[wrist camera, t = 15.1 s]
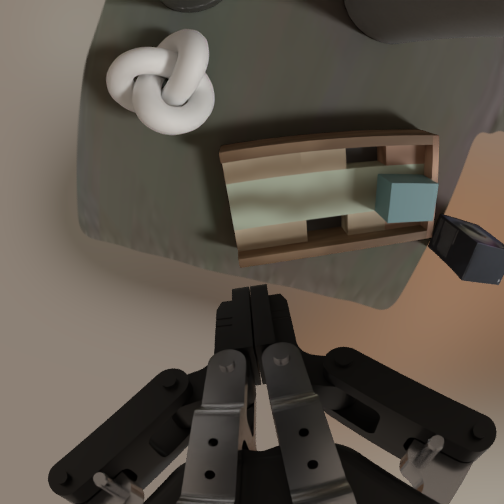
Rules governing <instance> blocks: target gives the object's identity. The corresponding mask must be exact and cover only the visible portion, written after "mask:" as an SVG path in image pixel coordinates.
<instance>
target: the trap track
mask: <svg viewBox="0 0 504 504" xmlns="http://www.w3.org/2000/svg"><path fill="white" fill-rule="evenodd" d="M219 156H220V162H221V164H222V165H223V171H224V176H225V182H226V187H227V193H228V198H229V204H230V209H231V215H232V220H233V226H234V231H235V237H236V242H237V247H238V260H239V265H240V268H242V267H249V266H255V265H262V264H269V263H276V262H282V261H289V260H295V259H302V258H308V257H315V256H321V255H328V254H334V253H341V252H347V251H353V250H359V249H366V248H372V247H378V246H384V245H390V244H396V243H403V242H409V241H415V240H421V239H427V238H432V232H433V225H434V217H433V221H419V222H399V223H387V222H386V221H385V220H384V219H383V218H382V217H381V216H380V215H379V214H378V213H377V212H376V211H375V202H376V190H377V177H378V174H420V175H424V176H426V177H428V178H429V179H431V180H433V181H435V182H436V183H437V182H438V163H439V135H436V134H432V133H429V132H426V131H423V130H419V129H390V130H360V131H342V132H328V133H315V134H305V135H295V136H286V137H277V138H269V139H261V140H254V141H247V142H241V143H234V144H228V145H222V146H221V148H220V151H219ZM435 207H436V205H435ZM434 216H435V211H434Z"/></svg>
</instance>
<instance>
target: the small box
mask: <svg viewBox="0 0 504 504" xmlns="http://www.w3.org/2000/svg"><path fill="white" fill-rule="evenodd" d="M428 247H429V248H430V249H431V250H432V251H433V252H435V253H436V254H437V255H438V256H439V257H440V258H441V259H442V260H443V261H444V262H445V263H446V264H447V265H448V266H449V267H450V268H451V269H452V270H453V271H454V272H455V273H456V274H457V275H458V277H459V278H460V279H461V280H464V281H471V282H479V283H488V284H496V285H499V283H500V281H501V279H502V277H503V275H504V244H503V243H501V242H500V241H499V240H497V239H496V238H495V237H493V236H492V235H491V234H490V233H488V232H487V231H486V230H484V229H483V228H481V227H480V226H478V225H476V224H473V223H470V222H467V221H463V220H460V219H457V218H454V217H450V216H447V215H443V214H440V216H439V219H438V222H437V224H436V227H435V230H434V232H433V235H432V238H431V240H430V242H429V245H428Z"/></svg>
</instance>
